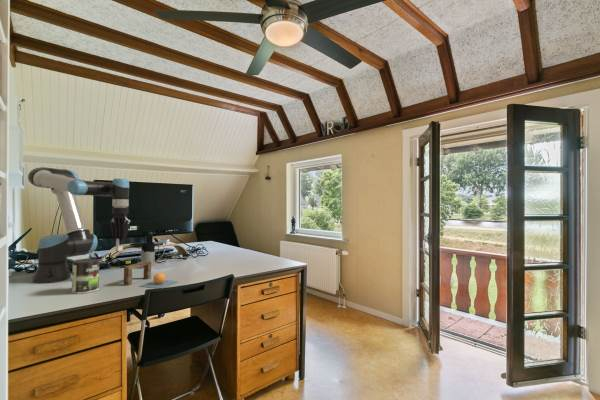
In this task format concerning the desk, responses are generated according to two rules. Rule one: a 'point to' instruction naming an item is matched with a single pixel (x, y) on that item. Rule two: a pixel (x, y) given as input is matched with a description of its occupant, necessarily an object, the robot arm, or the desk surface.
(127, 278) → the bridge
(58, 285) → the desk surface
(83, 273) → the coffee can
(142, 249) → the glass holder
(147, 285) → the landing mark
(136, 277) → the desk surface
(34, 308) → the desk surface
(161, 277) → the ball
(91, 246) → the robot arm
